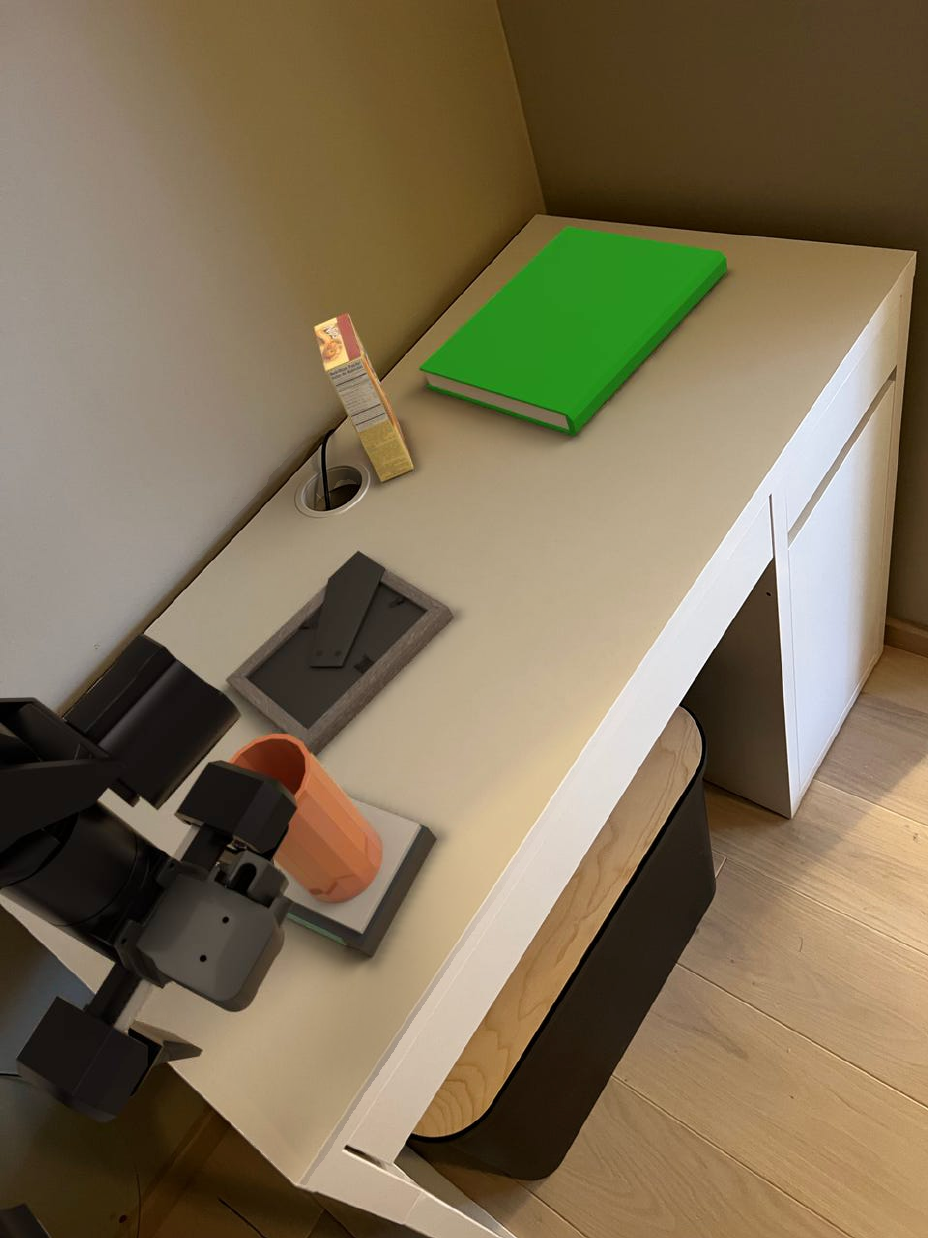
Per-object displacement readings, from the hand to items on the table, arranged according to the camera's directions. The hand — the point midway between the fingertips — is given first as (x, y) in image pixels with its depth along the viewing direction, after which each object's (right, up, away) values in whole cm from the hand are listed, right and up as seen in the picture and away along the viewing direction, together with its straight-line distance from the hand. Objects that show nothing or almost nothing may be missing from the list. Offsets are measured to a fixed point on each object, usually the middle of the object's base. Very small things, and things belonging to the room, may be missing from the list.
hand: (238, 975), depth 59 cm
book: (+26, +54, +52) cm, 79 cm away
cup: (+4, +3, +15) cm, 16 cm away
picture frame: (+2, +18, +32) cm, 37 cm away
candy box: (+6, +40, +49) cm, 63 cm away
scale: (+5, +2, +17) cm, 18 cm away
